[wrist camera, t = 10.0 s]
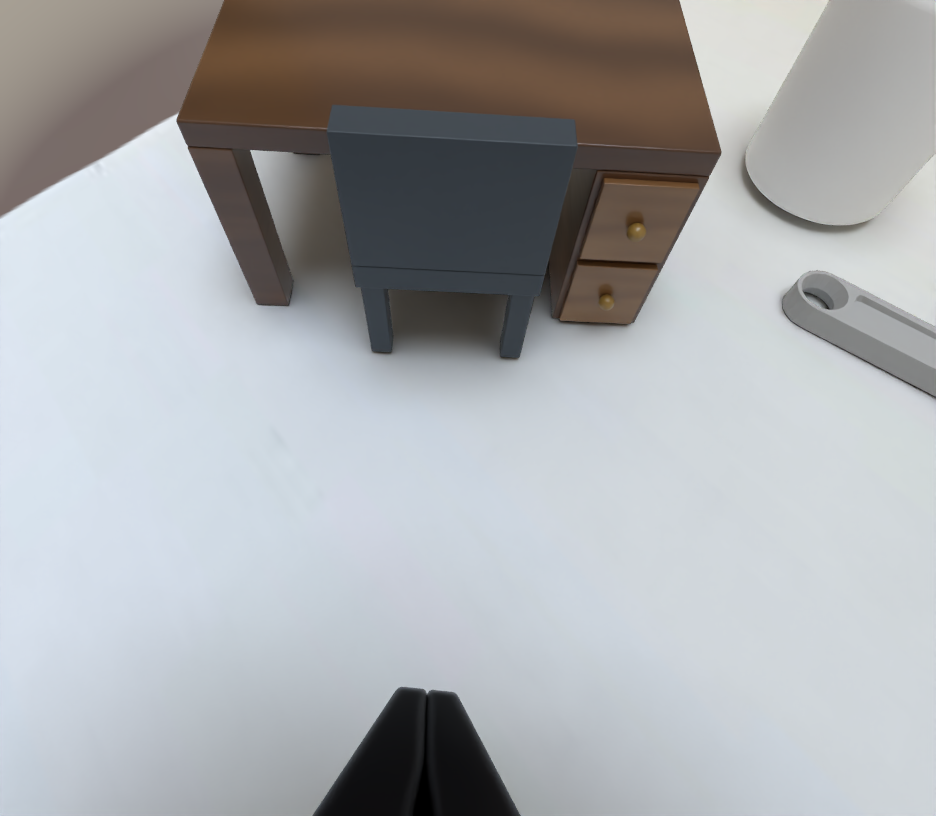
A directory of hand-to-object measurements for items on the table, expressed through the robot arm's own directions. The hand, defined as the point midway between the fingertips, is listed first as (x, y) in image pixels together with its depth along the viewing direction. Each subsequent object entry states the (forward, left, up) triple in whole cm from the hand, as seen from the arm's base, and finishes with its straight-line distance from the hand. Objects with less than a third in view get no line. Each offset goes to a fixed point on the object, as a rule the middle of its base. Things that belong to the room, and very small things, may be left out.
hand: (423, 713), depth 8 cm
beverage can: (+32, -13, -13) cm, 36 cm away
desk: (+22, +6, -13) cm, 26 cm away
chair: (+17, +5, -13) cm, 22 cm away
